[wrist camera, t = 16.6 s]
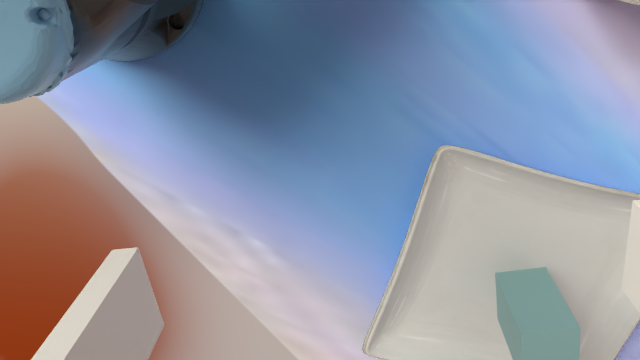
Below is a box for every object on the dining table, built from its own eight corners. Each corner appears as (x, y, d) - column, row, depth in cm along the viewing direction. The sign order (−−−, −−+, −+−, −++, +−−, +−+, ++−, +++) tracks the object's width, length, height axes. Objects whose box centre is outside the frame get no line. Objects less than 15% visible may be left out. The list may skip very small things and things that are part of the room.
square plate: (432, 129, 52) (438, 143, 48) (692, 193, 53) (716, 212, 50) (359, 335, 63) (360, 359, 60) (574, 383, 65) (587, 409, 61)
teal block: (497, 318, 56) (522, 384, 48) (495, 272, 54) (520, 333, 46) (545, 313, 56) (579, 379, 48) (545, 266, 53) (580, 327, 45)
